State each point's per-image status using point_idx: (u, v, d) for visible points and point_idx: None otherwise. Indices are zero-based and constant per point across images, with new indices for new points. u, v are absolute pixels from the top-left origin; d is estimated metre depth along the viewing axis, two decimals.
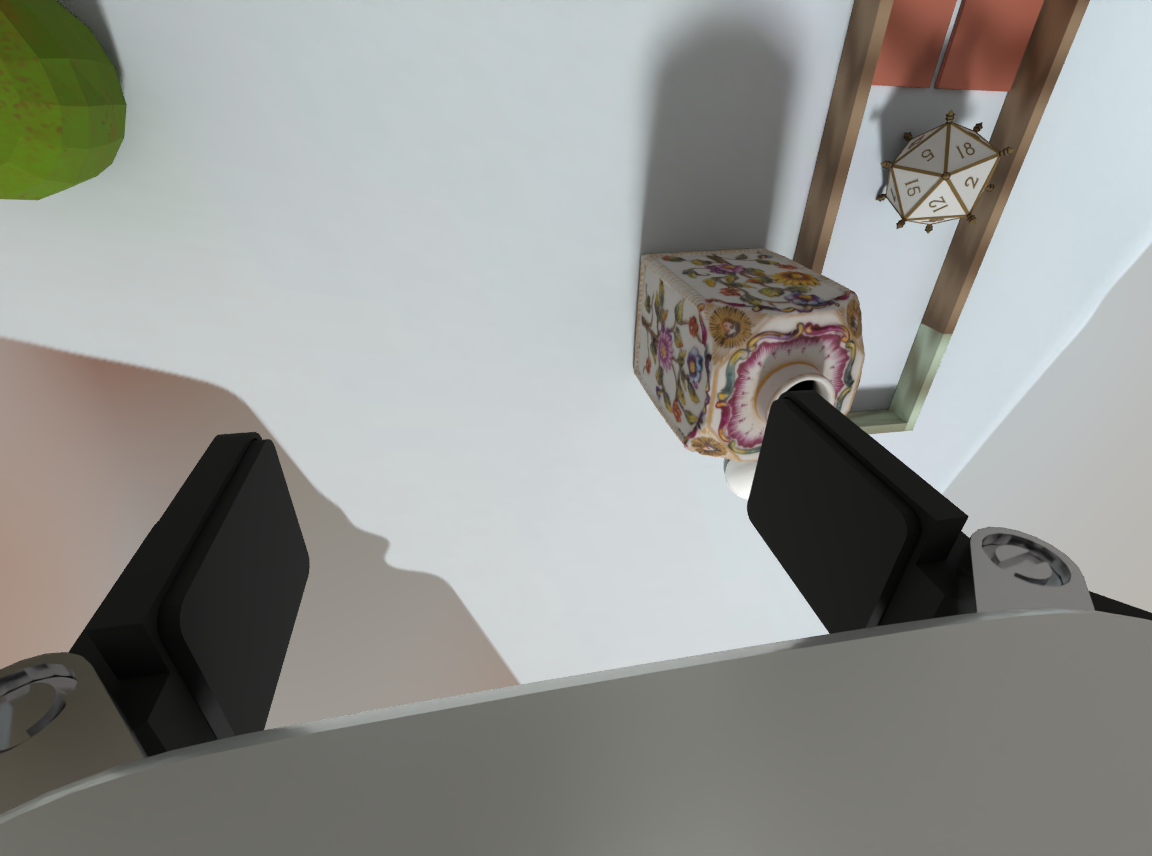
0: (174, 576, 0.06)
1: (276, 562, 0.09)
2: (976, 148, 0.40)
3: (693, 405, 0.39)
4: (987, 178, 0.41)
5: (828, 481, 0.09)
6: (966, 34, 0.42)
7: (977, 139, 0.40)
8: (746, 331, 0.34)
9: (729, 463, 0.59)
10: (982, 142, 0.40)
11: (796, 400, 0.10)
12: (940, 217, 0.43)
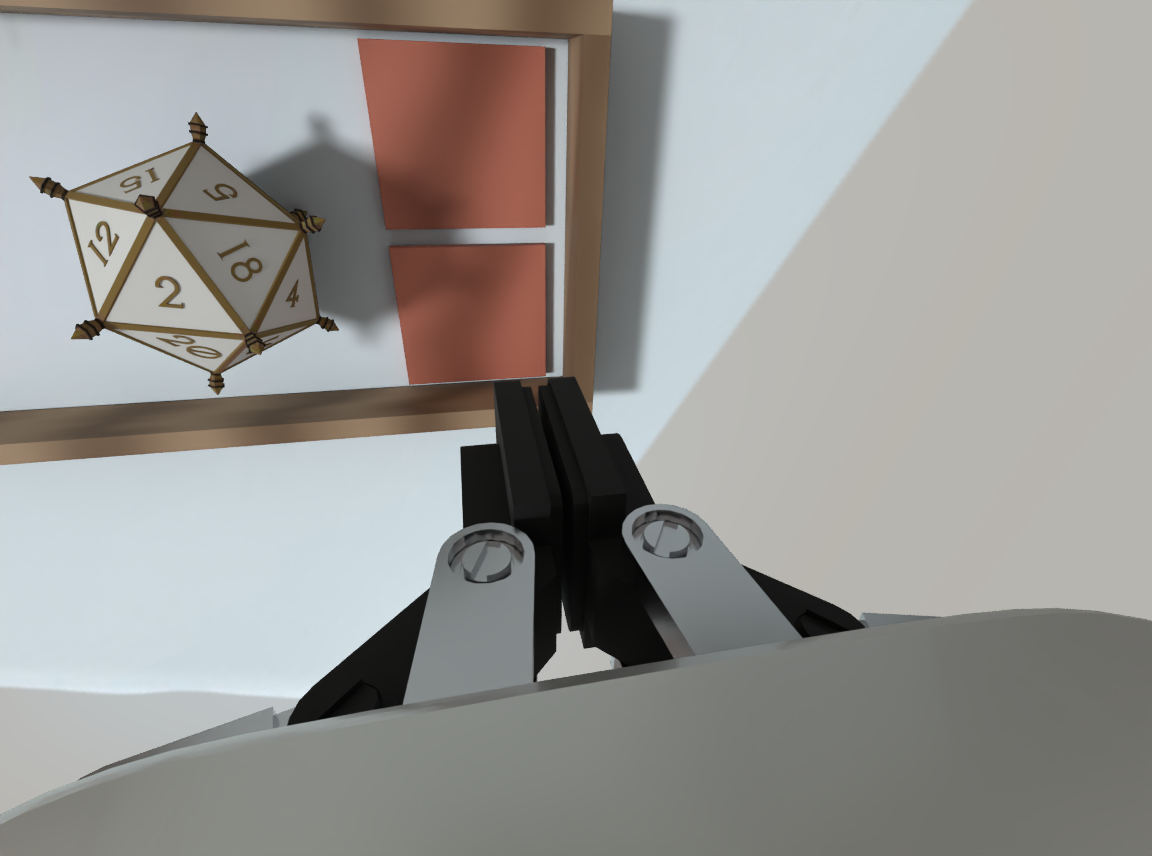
0: (543, 474, 0.08)
1: None
2: (253, 285, 0.18)
3: None
4: (192, 330, 0.18)
5: (554, 463, 0.09)
6: (470, 269, 0.25)
7: (274, 286, 0.19)
8: None
9: None
10: (269, 297, 0.19)
11: (552, 386, 0.10)
12: (83, 268, 0.17)
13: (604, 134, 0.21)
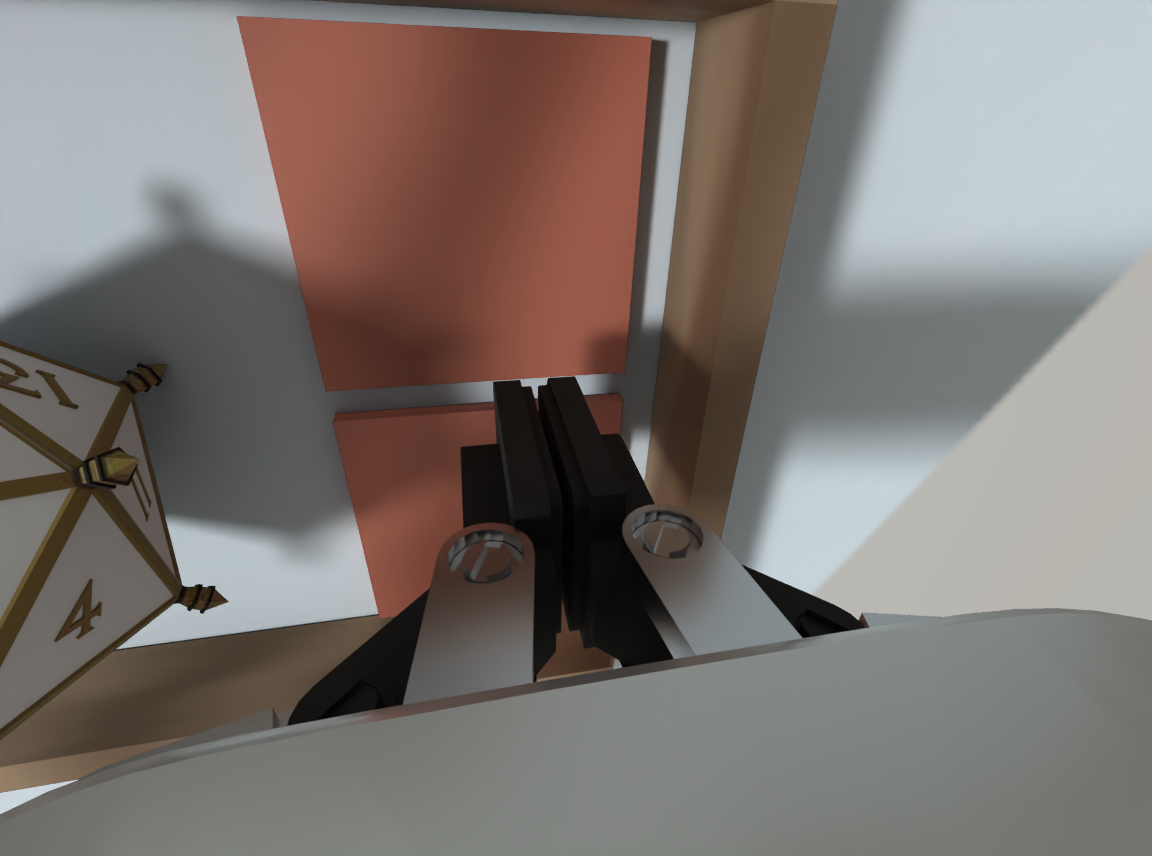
0: (543, 474, 0.08)
1: None
2: None
3: None
4: None
5: (555, 463, 0.09)
6: None
7: None
8: None
9: None
10: None
11: (552, 386, 0.10)
12: None
13: (785, 224, 0.10)
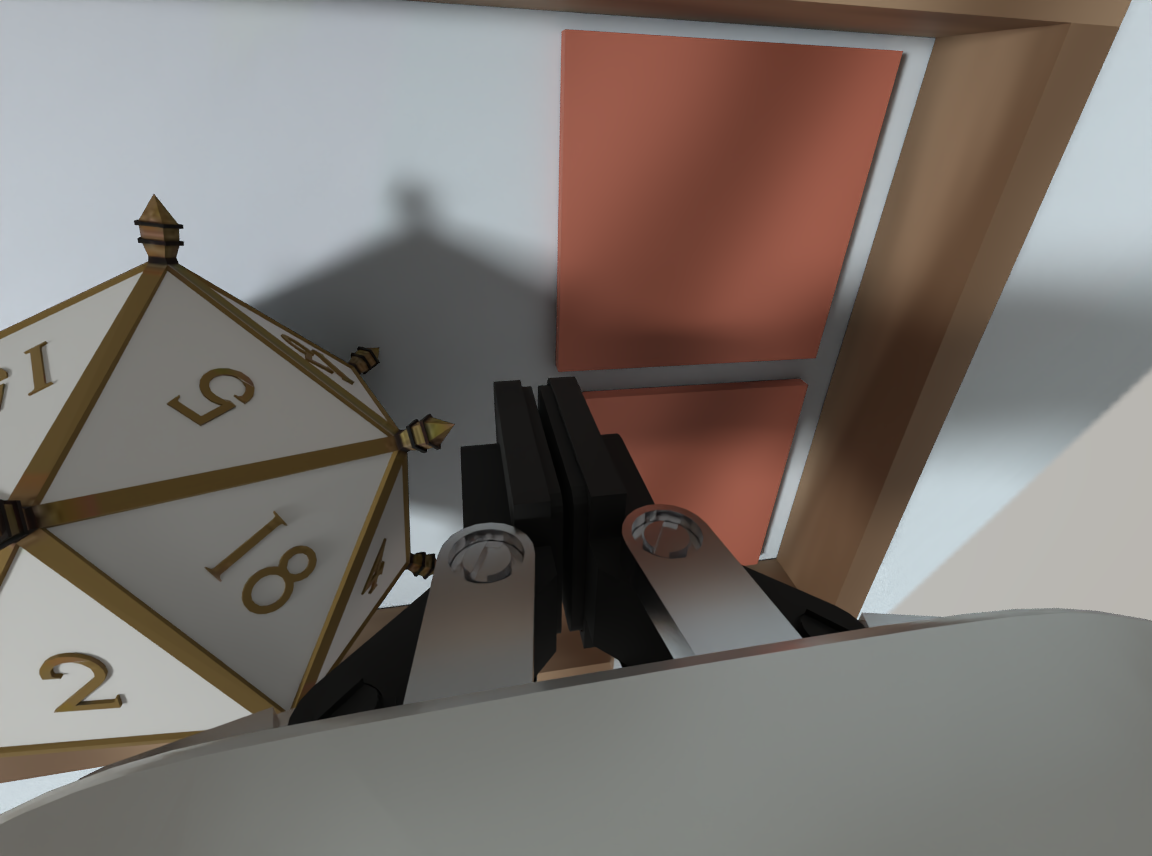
0: (543, 474, 0.08)
1: None
2: (295, 608, 0.08)
3: None
4: (149, 738, 0.07)
5: (554, 463, 0.09)
6: (683, 425, 0.15)
7: (342, 592, 0.08)
8: None
9: None
10: (332, 620, 0.08)
11: (552, 386, 0.10)
12: None
13: (1029, 221, 0.11)
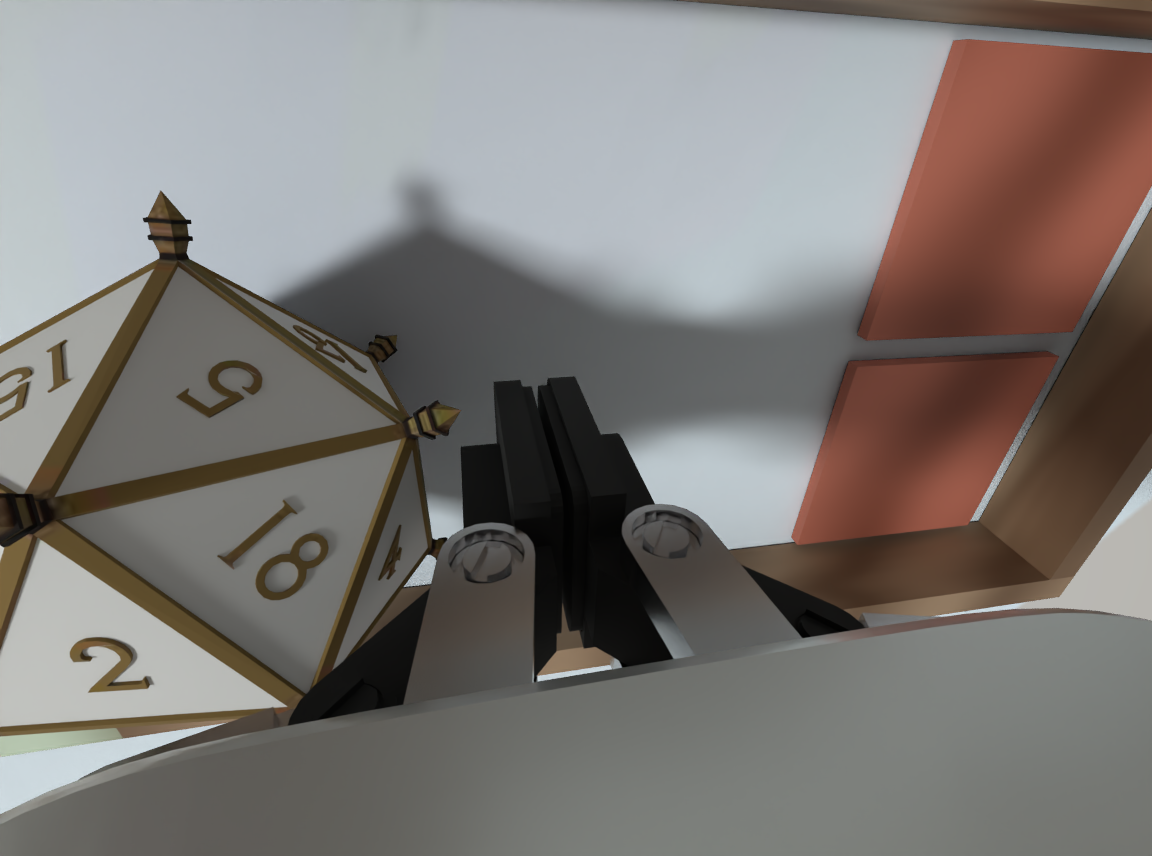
0: (543, 474, 0.08)
1: None
2: (309, 593, 0.08)
3: None
4: (178, 717, 0.08)
5: (554, 463, 0.09)
6: (948, 392, 0.17)
7: (356, 579, 0.08)
8: None
9: None
10: (346, 606, 0.08)
11: (552, 386, 0.10)
12: None
13: None
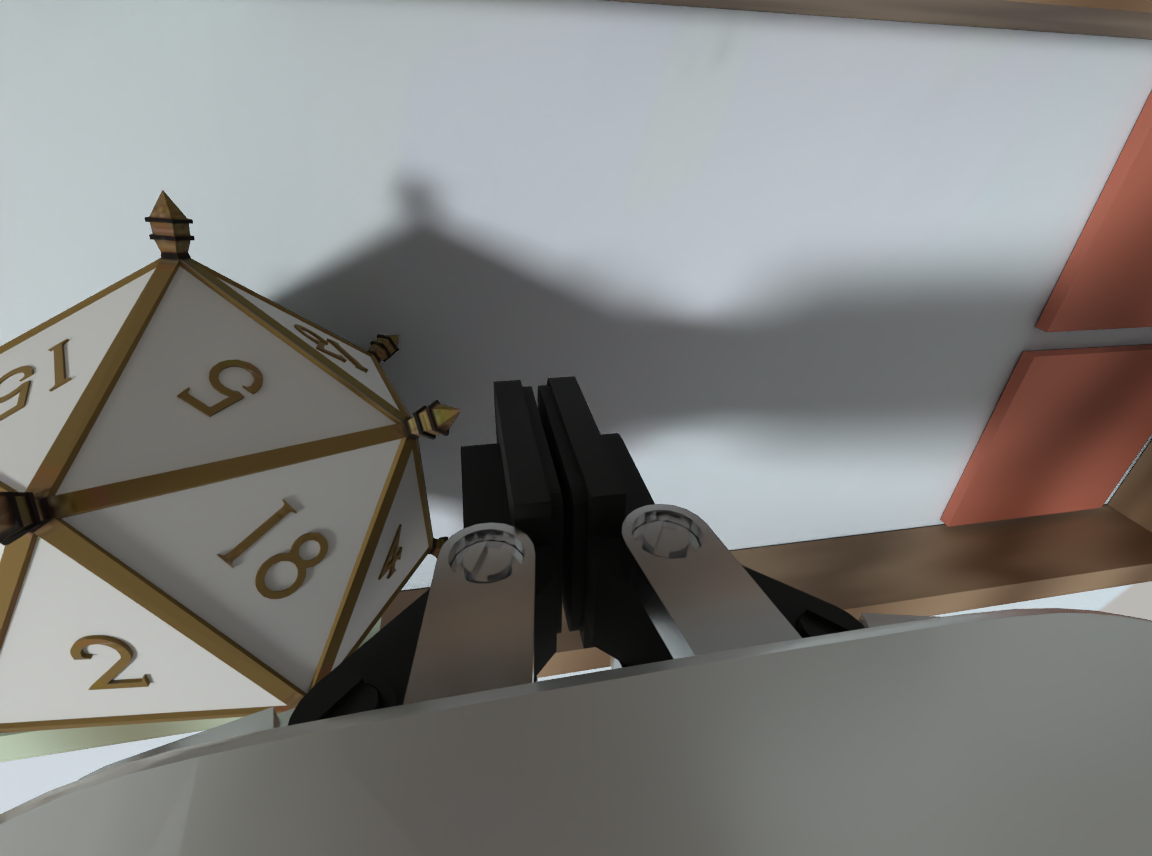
0: (543, 474, 0.08)
1: None
2: (308, 593, 0.08)
3: None
4: (178, 715, 0.08)
5: (554, 463, 0.09)
6: (1109, 380, 0.18)
7: (355, 578, 0.08)
8: None
9: None
10: (346, 605, 0.08)
11: (552, 386, 0.10)
12: None
13: None
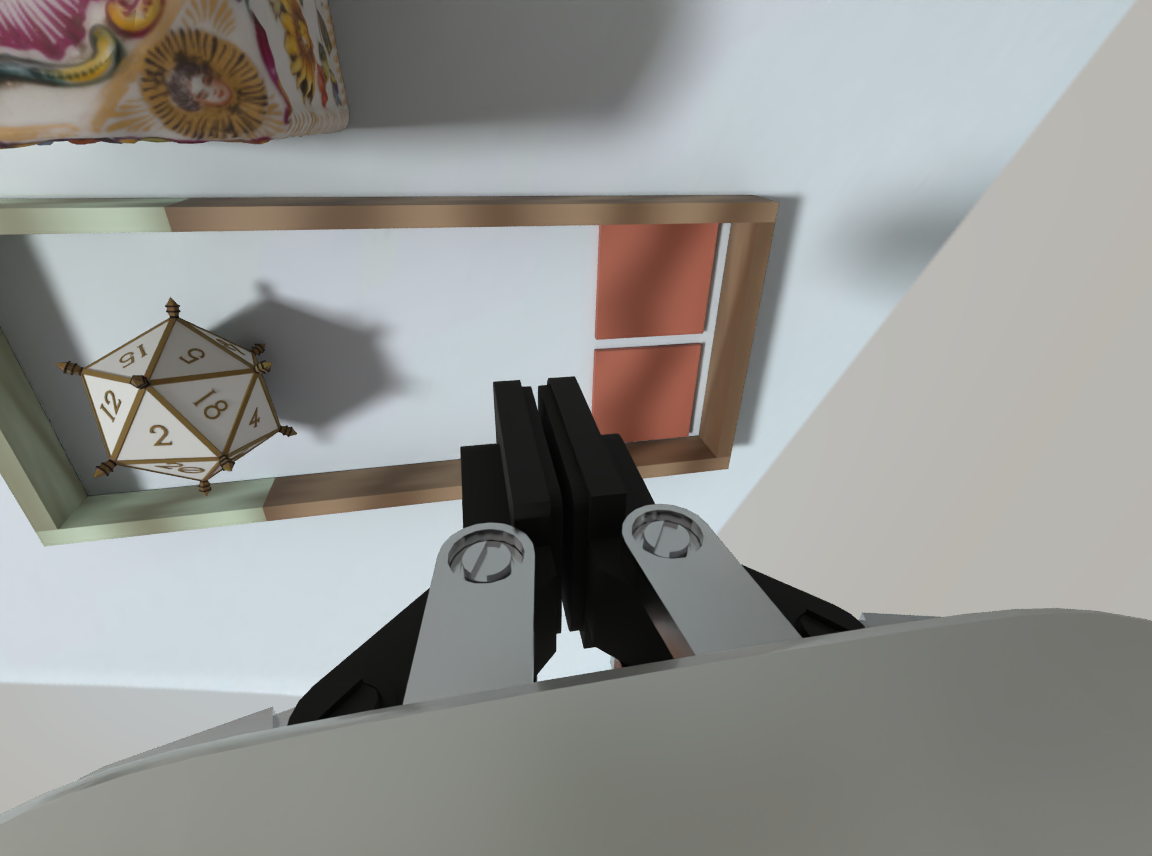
0: (543, 474, 0.08)
1: None
2: (221, 420, 0.25)
3: None
4: (180, 459, 0.24)
5: (554, 463, 0.09)
6: (648, 363, 0.35)
7: (237, 417, 0.25)
8: None
9: None
10: (234, 426, 0.25)
11: (552, 386, 0.10)
12: (98, 423, 0.24)
13: (763, 280, 0.31)
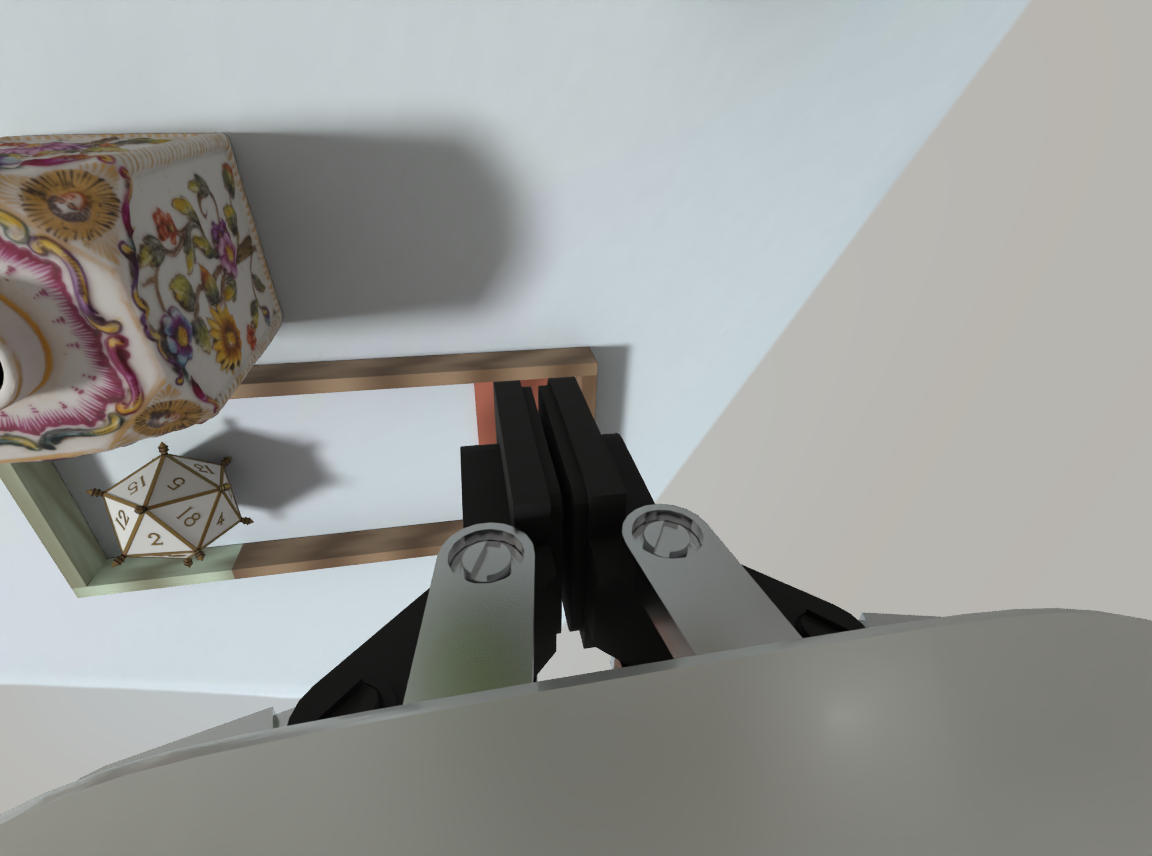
0: (543, 474, 0.08)
1: None
2: (196, 525, 0.37)
3: None
4: (168, 552, 0.36)
5: (554, 463, 0.09)
6: None
7: (207, 523, 0.37)
8: (70, 231, 0.19)
9: None
10: (205, 529, 0.37)
11: (552, 386, 0.10)
12: (114, 529, 0.36)
13: (594, 411, 0.42)
